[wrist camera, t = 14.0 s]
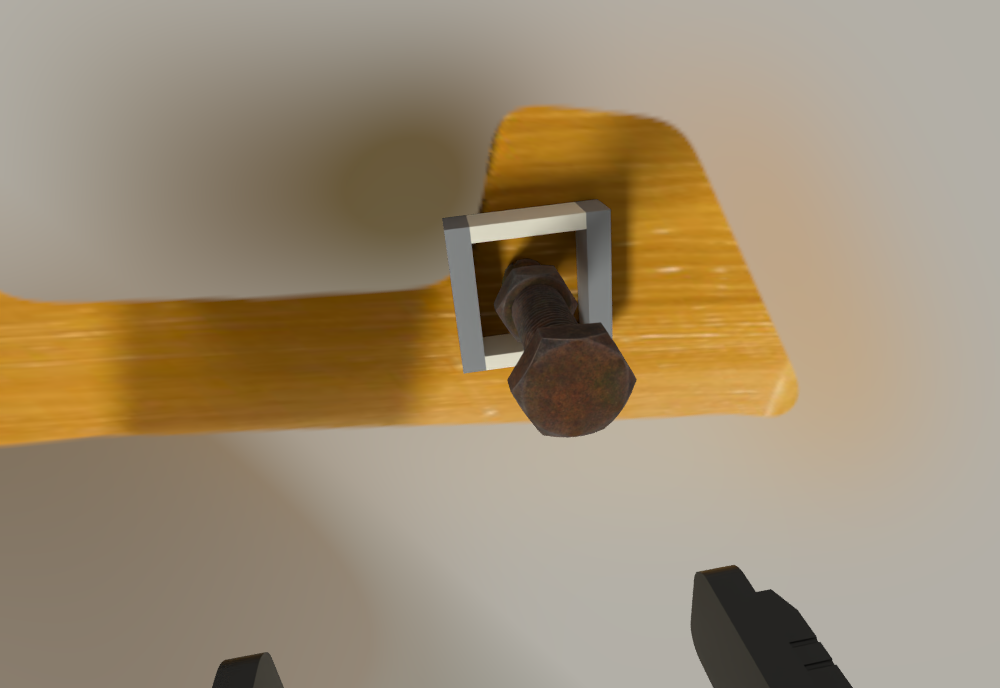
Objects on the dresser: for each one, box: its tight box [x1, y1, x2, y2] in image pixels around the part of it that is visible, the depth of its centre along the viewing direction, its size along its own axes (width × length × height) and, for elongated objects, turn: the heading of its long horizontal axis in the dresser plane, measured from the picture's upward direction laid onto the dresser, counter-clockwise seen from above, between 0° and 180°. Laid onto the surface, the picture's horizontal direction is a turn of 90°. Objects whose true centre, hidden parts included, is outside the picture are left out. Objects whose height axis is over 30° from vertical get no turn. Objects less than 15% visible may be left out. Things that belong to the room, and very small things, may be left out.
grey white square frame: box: [443, 199, 612, 373], centre depth 39 cm, size 10×10×3 cm
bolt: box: [494, 259, 637, 437], centre depth 33 cm, size 6×5×15 cm
